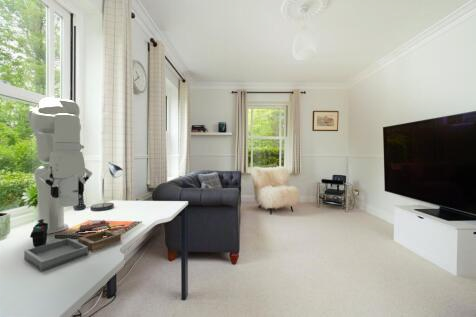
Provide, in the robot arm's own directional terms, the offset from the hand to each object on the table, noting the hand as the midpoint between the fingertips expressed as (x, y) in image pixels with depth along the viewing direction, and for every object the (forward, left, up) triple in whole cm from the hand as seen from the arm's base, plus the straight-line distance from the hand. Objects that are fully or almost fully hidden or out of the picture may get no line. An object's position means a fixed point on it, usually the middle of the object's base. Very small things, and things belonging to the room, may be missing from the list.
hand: (68, 195), depth 79 cm
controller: (-16, -4, -22) cm, 27 cm away
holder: (+1, +10, -22) cm, 24 cm away
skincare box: (0, 0, -4) cm, 4 cm away
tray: (0, -4, -22) cm, 22 cm away
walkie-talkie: (-16, +20, -22) cm, 34 cm away
